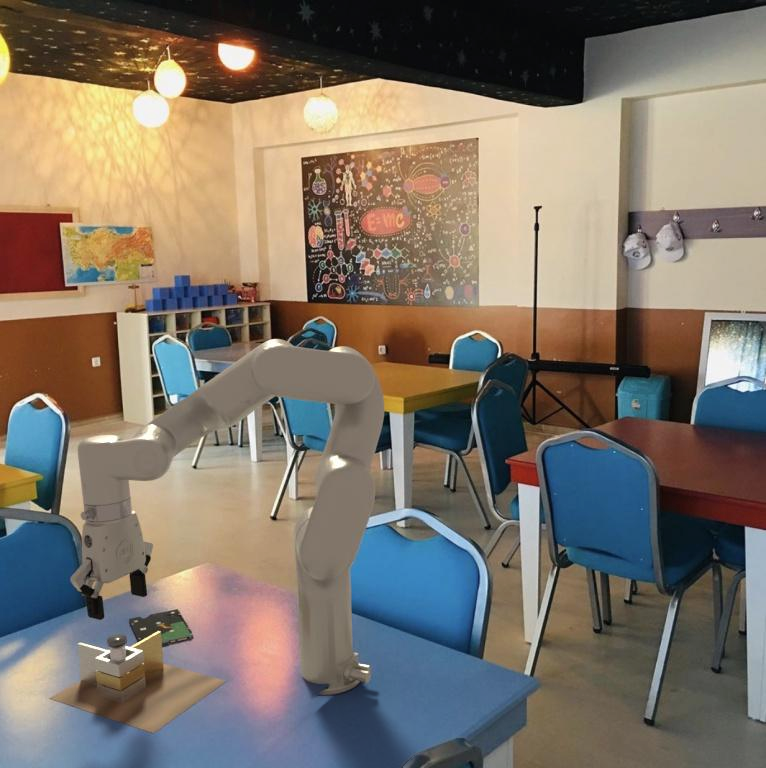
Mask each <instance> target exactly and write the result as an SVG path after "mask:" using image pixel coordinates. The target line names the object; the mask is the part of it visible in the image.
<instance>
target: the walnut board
mask: <svg viewBox="0 0 766 768" xmlns="http://www.w3.org/2000/svg"><path fill="white" fill-rule="evenodd" d="M163 667H164V668H162V669H161V670H159V671H157V672H156V673H154V674H153V675H151V676H149V677H148V678H146V679H145V683H146V689H144V690H143V691H141V692H140V693H138V694H136V695H135V696H133V697H132V698H130V699H129V700H127V701H126V702H124V703H122V704H121V703H117V702H114V701H111V700H108V699H105V698H102V697H99V696H98V689H97V686H96V685H93V684H90V683H87V682H84V681H81V679H80V680H78V681H77V682H75V683H73V684H71V685H69V686H68V687H66V688H65V689H62V690H61V691H60V692H58V693H56V694H54V695H52V696H51V697H49V699H50V700H52V701H55V702H59V703H62V704H65V705H68V706H70V707H73V708H76V709H79V710H83V711H85V712H89V713H91V714H94V715H97V716H100V717H103V718H105V719H108V720H112V721H114V722H115V721H116V722H119V723H121V724H124V725H126V726H131V727H133V728H136V729H138V730H142V731H145V732H148V733H150V734H156V732H158V731H159V730H161V729H162V728H163V727H165V726H166V725H168V724H169V723H171V722H172V721H173V720H174V719H176V718H177V717H179V716H180V715H181V714H183V713H184V712H186V711H187V710H189V709H190V708H192V707H193V706H194V705H196V704H197V703H198V702H200V701H201V700H202V699H204V698H206V697H207V696H208V695H210V694H211V693H212V692H214V691H216V690H217V689H218V688H219V687H221V686H222V685H224V684H225V683H226V682H228V681H227V680H225V679H224V680H223V679H220V678H217V677H213V676H210V675H206V674H203V673H198V672H195V671H192V670H188V669H185V668H181V667H178V666H173V665H171V664H168V663H164V662H163Z"/></svg>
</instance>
